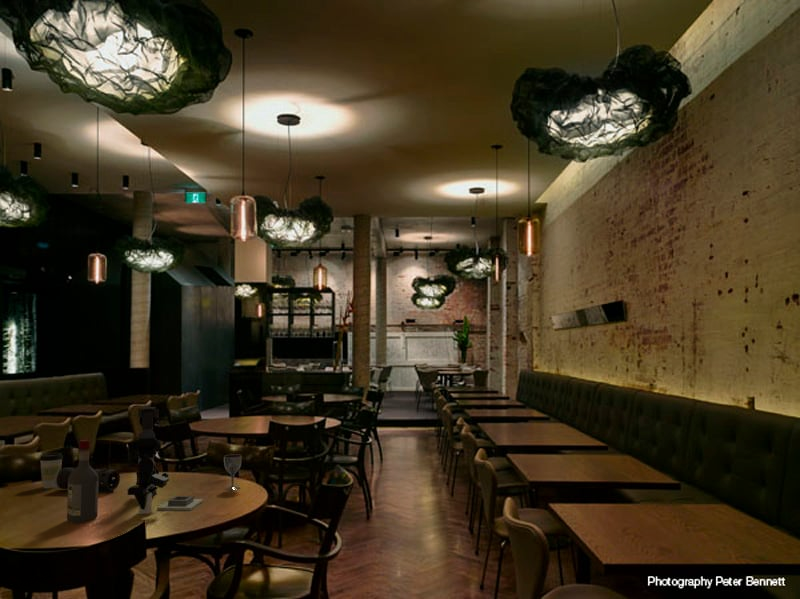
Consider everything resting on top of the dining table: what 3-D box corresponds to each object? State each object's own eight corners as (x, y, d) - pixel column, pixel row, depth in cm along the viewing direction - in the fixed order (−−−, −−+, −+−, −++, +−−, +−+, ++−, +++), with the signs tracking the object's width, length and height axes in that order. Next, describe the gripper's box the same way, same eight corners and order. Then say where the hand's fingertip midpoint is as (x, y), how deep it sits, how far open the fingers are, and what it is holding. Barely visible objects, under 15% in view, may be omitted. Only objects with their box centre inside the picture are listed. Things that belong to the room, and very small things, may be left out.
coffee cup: (33, 488, 288) (34, 456, 289) (50, 483, 297) (51, 452, 298) (50, 489, 285) (51, 457, 286) (67, 485, 295) (68, 453, 296)
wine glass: (230, 491, 280) (231, 458, 281) (219, 489, 284) (220, 456, 285) (244, 488, 286) (245, 455, 287) (234, 485, 291) (234, 453, 292)
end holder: (157, 510, 249) (157, 502, 249) (171, 501, 263) (171, 494, 263) (191, 510, 248) (191, 502, 249) (203, 501, 262) (203, 494, 263)
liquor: (89, 515, 243) (91, 438, 245) (99, 519, 237) (101, 440, 239) (64, 520, 236) (66, 440, 238) (75, 524, 230) (77, 443, 232)
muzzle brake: (106, 495, 275) (107, 471, 276) (52, 492, 280) (52, 469, 281) (120, 490, 284) (120, 467, 285) (67, 487, 290) (68, 465, 290)
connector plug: (138, 513, 244) (139, 492, 244) (142, 511, 247) (143, 489, 248) (147, 513, 244) (147, 492, 244) (151, 511, 247) (151, 489, 248)
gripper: (155, 473, 237) (154, 514, 236) (175, 463, 255) (174, 502, 254) (127, 473, 237) (126, 514, 236) (149, 463, 256) (148, 501, 255)
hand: (145, 507), depth 245 cm, fingers closed on connector plug, 3 cm apart
